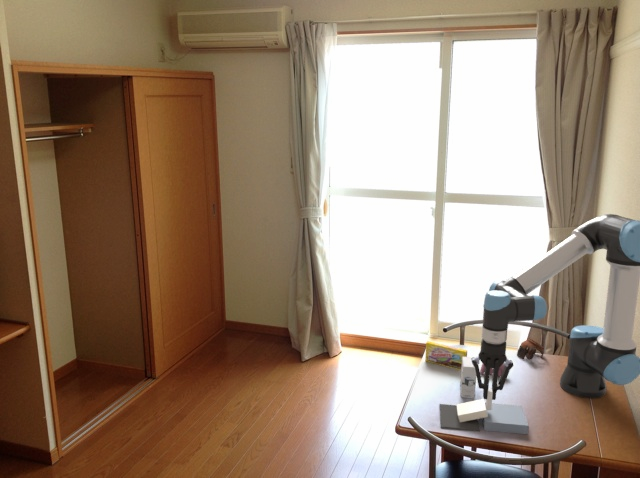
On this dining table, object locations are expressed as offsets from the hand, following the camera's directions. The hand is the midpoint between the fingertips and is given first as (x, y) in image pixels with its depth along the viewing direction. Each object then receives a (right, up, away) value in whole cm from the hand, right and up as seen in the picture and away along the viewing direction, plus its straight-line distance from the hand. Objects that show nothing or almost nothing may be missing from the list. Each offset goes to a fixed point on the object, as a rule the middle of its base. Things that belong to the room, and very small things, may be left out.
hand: (488, 407), depth 185 cm
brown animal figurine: (+30, +6, +46) cm, 56 cm away
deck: (+5, -5, 0) cm, 7 cm away
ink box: (-2, 0, +19) cm, 19 cm away
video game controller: (+11, +3, +31) cm, 33 cm away
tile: (-5, -2, +1) cm, 5 cm away
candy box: (-5, +5, +40) cm, 40 cm away
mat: (-9, -4, +3) cm, 10 cm away
